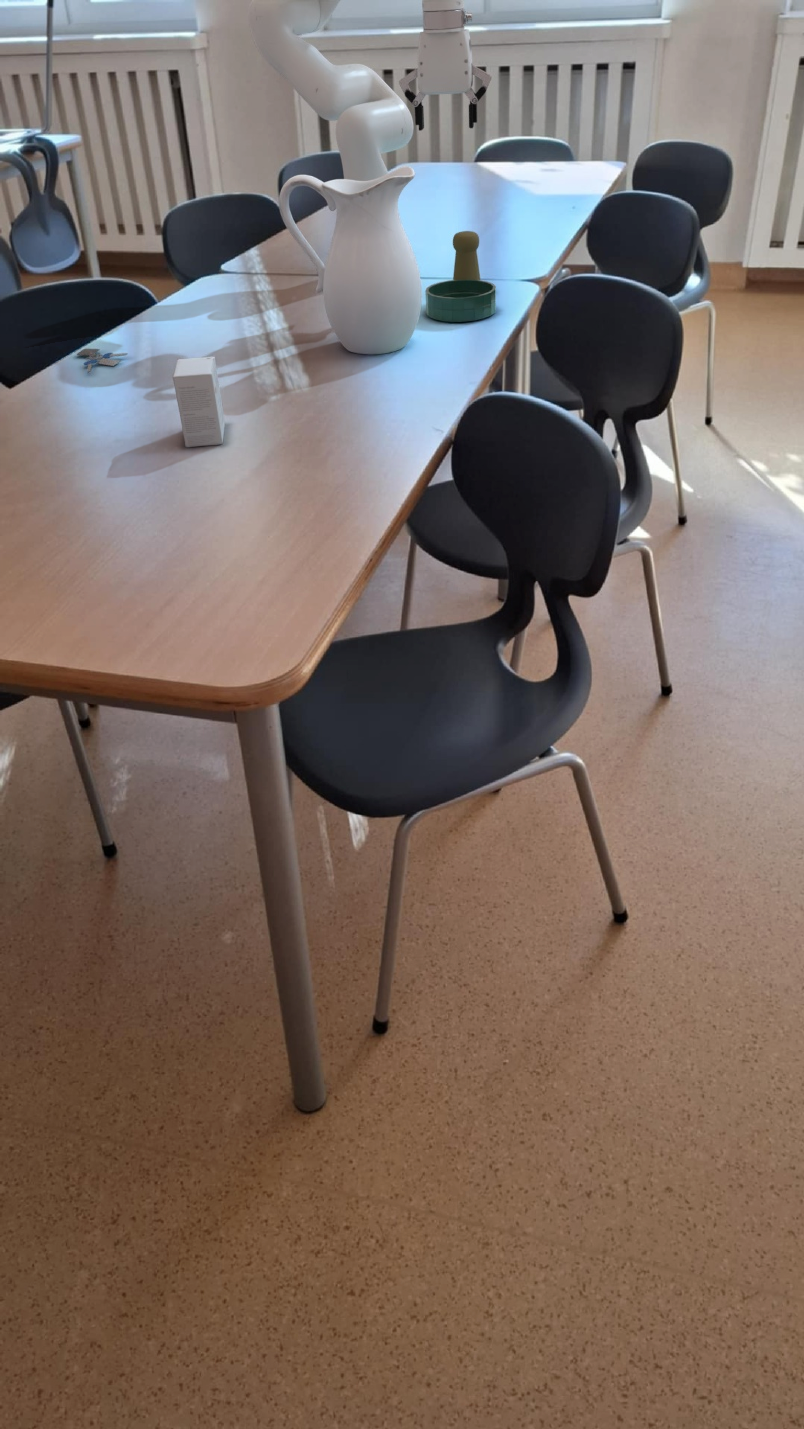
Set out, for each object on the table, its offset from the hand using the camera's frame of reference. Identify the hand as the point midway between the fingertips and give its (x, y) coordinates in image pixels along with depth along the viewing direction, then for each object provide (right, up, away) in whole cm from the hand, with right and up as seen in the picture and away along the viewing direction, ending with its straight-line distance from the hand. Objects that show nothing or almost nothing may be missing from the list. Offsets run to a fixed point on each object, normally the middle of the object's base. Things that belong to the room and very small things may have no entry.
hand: (446, 128), depth 203 cm
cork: (+5, -28, +9) cm, 30 cm away
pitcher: (-16, -46, -13) cm, 51 cm away
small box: (-38, -71, -46) cm, 92 cm away
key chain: (-62, -49, -13) cm, 80 cm away
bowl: (+3, -36, -1) cm, 36 cm away
